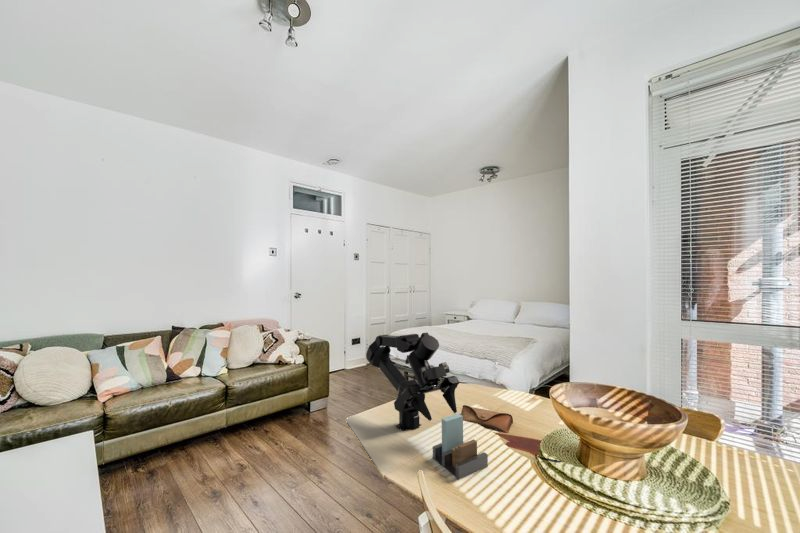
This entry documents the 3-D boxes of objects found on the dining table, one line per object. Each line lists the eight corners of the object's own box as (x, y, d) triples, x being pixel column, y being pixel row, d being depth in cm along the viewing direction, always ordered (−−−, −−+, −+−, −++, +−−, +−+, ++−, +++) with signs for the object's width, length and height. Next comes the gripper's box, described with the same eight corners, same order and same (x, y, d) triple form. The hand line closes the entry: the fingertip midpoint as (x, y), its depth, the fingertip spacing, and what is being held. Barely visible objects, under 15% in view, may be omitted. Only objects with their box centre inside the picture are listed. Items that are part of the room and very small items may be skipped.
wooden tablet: (562, 447, 96) (562, 441, 96) (564, 465, 87) (564, 459, 87) (473, 429, 107) (473, 424, 108) (466, 444, 98) (466, 438, 98)
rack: (432, 460, 89) (432, 446, 89) (460, 450, 94) (459, 436, 94) (458, 482, 79) (458, 466, 80) (487, 469, 85) (487, 454, 85)
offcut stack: (452, 465, 85) (451, 441, 85) (467, 459, 88) (467, 435, 88) (461, 473, 82) (460, 447, 82) (477, 466, 85) (476, 441, 85)
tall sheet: (442, 458, 88) (441, 418, 89) (458, 452, 91) (458, 413, 92) (446, 462, 87) (446, 421, 87) (463, 455, 90) (462, 416, 90)
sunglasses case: (455, 422, 111) (458, 402, 115) (460, 425, 117) (463, 405, 120) (509, 433, 103) (511, 411, 106) (512, 436, 109) (513, 415, 112)
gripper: (405, 358, 93) (428, 410, 83) (455, 350, 102) (481, 396, 93) (392, 378, 99) (412, 429, 90) (440, 368, 109) (462, 413, 99)
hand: (443, 416), depth 93 cm, fingers open, 9 cm apart
